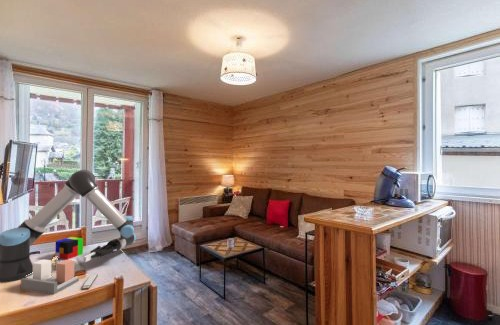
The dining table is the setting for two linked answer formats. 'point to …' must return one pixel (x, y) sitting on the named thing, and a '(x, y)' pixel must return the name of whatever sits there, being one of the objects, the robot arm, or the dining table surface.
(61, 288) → the base
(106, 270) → the dining table surface
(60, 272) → the salmon pink block
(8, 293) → the dining table surface
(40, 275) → the white rectangular block
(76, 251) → the puzzle toy
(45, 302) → the dining table surface
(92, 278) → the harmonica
